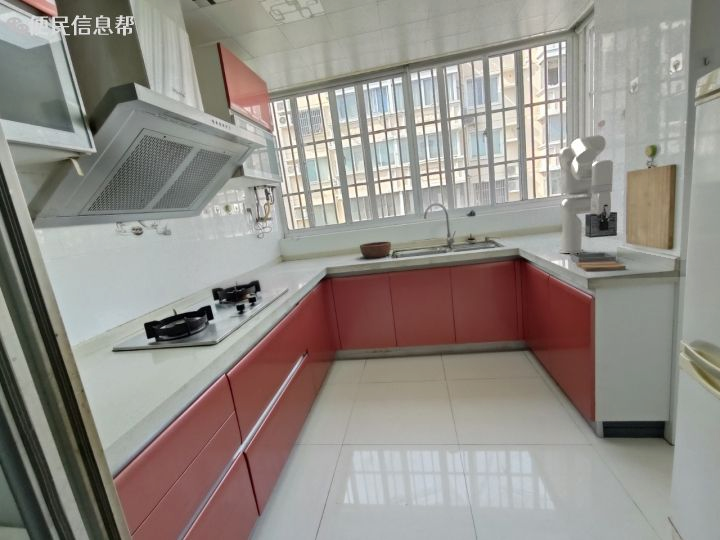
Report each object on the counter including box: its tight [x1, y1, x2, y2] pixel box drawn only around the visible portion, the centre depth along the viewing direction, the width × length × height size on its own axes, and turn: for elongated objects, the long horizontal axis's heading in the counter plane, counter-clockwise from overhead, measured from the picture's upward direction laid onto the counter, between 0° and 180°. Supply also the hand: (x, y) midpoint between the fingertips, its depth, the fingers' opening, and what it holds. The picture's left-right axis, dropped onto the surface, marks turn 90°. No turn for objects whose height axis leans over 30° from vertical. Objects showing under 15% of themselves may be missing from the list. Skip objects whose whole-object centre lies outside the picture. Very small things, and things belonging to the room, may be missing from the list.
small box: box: [584, 211, 618, 239], centre depth 149 cm, size 11×6×10 cm, turn 74°
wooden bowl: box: [359, 241, 392, 259], centre depth 264 cm, size 25×25×10 cm
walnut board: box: [576, 261, 627, 272], centre depth 153 cm, size 13×15×2 cm
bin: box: [570, 251, 617, 264], centre depth 166 cm, size 13×16×3 cm
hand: (600, 229), depth 149 cm, fingers closed on small box, 6 cm apart
